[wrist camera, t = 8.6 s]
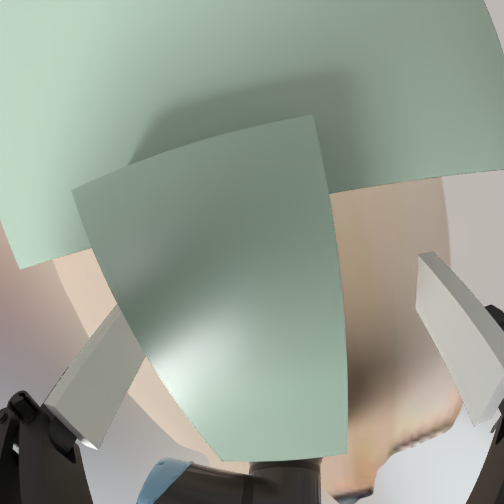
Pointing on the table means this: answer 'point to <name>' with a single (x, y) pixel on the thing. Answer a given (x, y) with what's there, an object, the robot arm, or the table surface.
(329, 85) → the lid
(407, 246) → the table surface
